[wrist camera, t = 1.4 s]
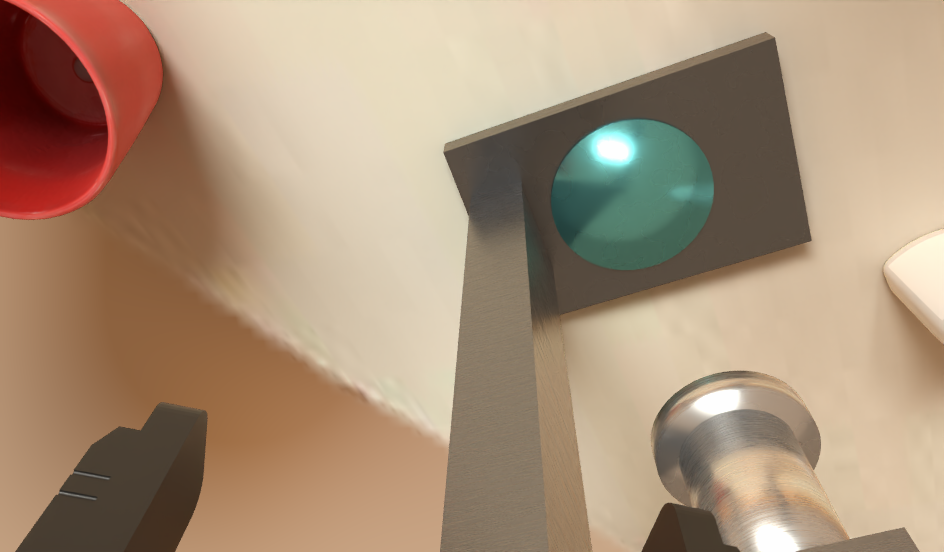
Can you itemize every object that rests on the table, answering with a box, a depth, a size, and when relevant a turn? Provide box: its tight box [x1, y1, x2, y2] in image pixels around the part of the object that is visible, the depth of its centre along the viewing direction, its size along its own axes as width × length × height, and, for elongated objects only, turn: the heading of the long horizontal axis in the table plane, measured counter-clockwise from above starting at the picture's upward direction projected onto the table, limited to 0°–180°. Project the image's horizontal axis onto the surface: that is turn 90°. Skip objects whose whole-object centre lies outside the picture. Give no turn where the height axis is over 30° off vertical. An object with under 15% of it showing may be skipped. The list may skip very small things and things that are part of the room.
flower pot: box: [0, 0, 163, 220], centre depth 37 cm, size 11×11×10 cm
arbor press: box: [440, 32, 919, 552], centre depth 33 cm, size 18×25×32 cm
